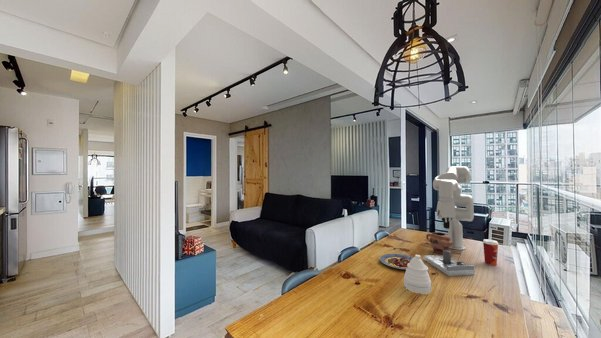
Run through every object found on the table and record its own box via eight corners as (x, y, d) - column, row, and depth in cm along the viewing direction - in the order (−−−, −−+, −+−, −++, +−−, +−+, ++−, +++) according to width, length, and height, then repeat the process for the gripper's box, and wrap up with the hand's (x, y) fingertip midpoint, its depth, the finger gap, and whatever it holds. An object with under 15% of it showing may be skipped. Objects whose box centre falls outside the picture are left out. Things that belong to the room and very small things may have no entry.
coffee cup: (499, 267, 145) (499, 243, 145) (482, 264, 150) (482, 241, 150) (498, 262, 152) (498, 240, 152) (482, 259, 157) (482, 238, 157)
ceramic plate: (412, 257, 164) (412, 252, 164) (429, 273, 138) (429, 268, 138) (375, 256, 167) (375, 252, 167) (385, 271, 141) (385, 267, 141)
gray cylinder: (441, 265, 148) (441, 250, 149) (447, 265, 149) (447, 249, 149) (446, 268, 144) (446, 252, 144) (452, 268, 144) (452, 252, 144)
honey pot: (435, 295, 113) (434, 259, 113) (407, 293, 116) (406, 258, 116) (426, 283, 126) (425, 250, 126) (401, 281, 129) (401, 249, 129)
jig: (423, 259, 158) (423, 252, 158) (445, 258, 159) (445, 251, 159) (448, 276, 134) (448, 266, 134) (474, 274, 135) (474, 265, 135)
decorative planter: (421, 249, 179) (421, 231, 179) (430, 246, 185) (429, 229, 185) (448, 257, 162) (448, 237, 162) (457, 254, 168) (457, 235, 168)
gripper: (452, 198, 151) (453, 226, 151) (431, 199, 150) (431, 227, 150) (461, 200, 143) (462, 229, 143) (439, 200, 142) (439, 230, 142)
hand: (446, 228), depth 147 cm, fingers closed
